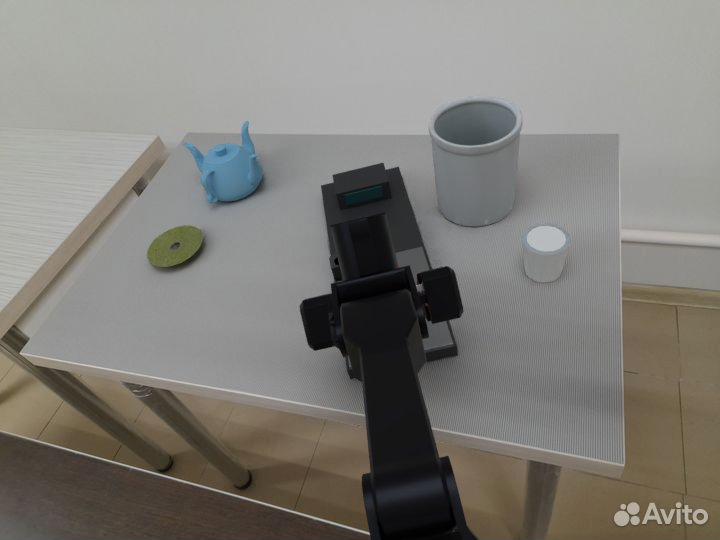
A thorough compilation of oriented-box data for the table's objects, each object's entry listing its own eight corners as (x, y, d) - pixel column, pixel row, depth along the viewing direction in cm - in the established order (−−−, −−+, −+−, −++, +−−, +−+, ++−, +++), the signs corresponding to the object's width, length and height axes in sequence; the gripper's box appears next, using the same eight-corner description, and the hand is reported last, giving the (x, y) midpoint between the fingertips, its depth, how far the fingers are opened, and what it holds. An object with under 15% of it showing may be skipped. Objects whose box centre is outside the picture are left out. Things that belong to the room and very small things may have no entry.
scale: (458, 355, 75) (455, 329, 71) (350, 379, 76) (340, 355, 71) (400, 176, 106) (395, 149, 101) (323, 194, 106) (315, 169, 102)
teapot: (207, 217, 109) (186, 178, 101) (201, 177, 119) (181, 139, 112) (274, 194, 110) (258, 153, 102) (262, 156, 120) (247, 117, 113)
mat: (152, 242, 106) (147, 235, 105) (205, 225, 107) (201, 218, 105) (150, 280, 99) (145, 273, 97) (207, 262, 99) (203, 255, 98)
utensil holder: (525, 180, 98) (530, 95, 85) (510, 235, 89) (512, 149, 76) (448, 173, 103) (442, 92, 91) (427, 224, 95) (416, 143, 82)
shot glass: (518, 283, 82) (519, 252, 77) (522, 251, 86) (524, 220, 81) (565, 288, 80) (569, 256, 75) (567, 255, 84) (571, 223, 79)
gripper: (450, 220, 54) (435, 227, 70) (277, 261, 55) (300, 259, 71) (474, 323, 55) (453, 308, 70) (302, 363, 55) (319, 339, 71)
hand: (380, 302), depth 71 cm, fingers open, 9 cm apart
